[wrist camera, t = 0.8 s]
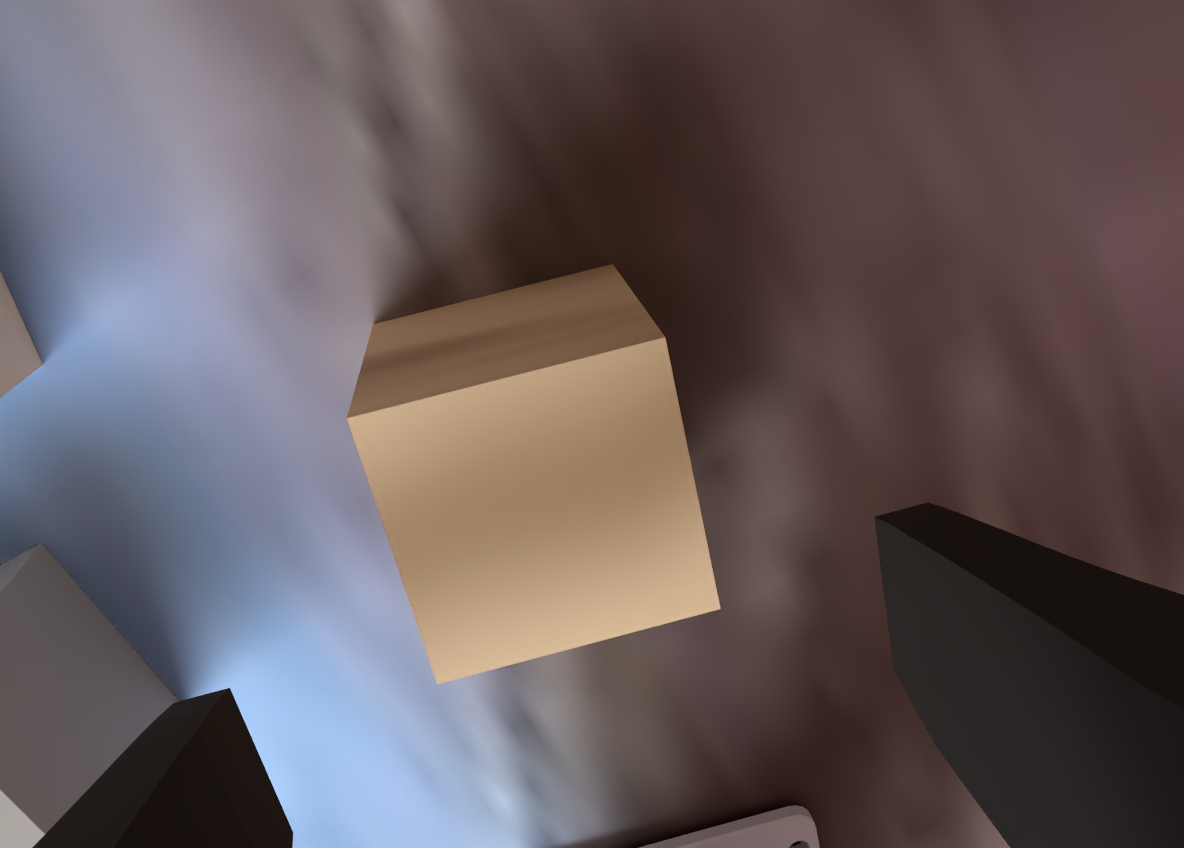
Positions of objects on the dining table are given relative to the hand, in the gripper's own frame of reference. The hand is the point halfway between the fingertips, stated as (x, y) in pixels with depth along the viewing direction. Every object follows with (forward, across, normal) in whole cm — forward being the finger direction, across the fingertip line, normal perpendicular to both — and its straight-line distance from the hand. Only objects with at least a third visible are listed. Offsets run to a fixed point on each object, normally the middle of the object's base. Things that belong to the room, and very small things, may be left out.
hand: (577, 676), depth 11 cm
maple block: (+9, 0, 0) cm, 9 cm away
